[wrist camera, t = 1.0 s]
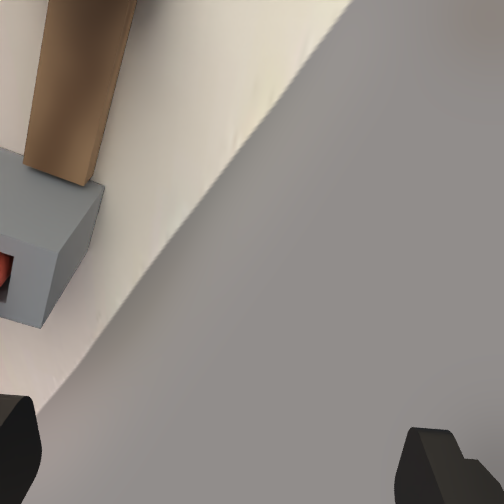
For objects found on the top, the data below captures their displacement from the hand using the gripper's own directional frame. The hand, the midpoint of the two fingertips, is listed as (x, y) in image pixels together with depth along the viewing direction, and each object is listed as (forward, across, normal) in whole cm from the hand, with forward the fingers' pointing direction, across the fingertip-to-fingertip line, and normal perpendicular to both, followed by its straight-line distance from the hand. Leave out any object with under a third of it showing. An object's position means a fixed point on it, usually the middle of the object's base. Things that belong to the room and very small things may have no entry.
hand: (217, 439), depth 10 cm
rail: (+22, +10, -8) cm, 26 cm away
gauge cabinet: (+24, +16, +4) cm, 28 cm away
